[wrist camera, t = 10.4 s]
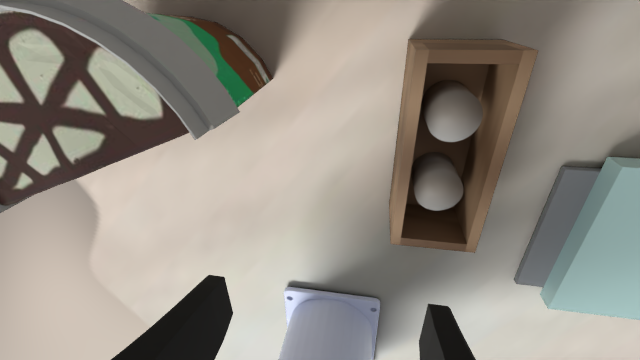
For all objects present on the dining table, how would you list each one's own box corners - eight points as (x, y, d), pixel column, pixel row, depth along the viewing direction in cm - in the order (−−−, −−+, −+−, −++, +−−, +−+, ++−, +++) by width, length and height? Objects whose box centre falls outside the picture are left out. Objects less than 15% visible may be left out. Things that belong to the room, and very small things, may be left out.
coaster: (661, 296, 20) (665, 301, 20) (514, 279, 22) (516, 283, 21) (754, 177, 16) (762, 181, 16) (561, 166, 17) (565, 169, 17)
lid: (631, 304, 21) (644, 320, 20) (540, 294, 22) (547, 308, 21) (734, 163, 15) (759, 174, 14) (607, 156, 16) (622, 167, 15)
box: (458, 209, 20) (474, 252, 16) (389, 203, 20) (390, 243, 17) (502, 39, 15) (538, 50, 11) (408, 39, 16) (415, 49, 12)
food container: (243, -56, 15) (53, -138, 6) (295, 69, 17) (211, 133, 9) (76, 46, 19) (-176, 82, 10) (138, 136, 21) (-24, 225, 13)
